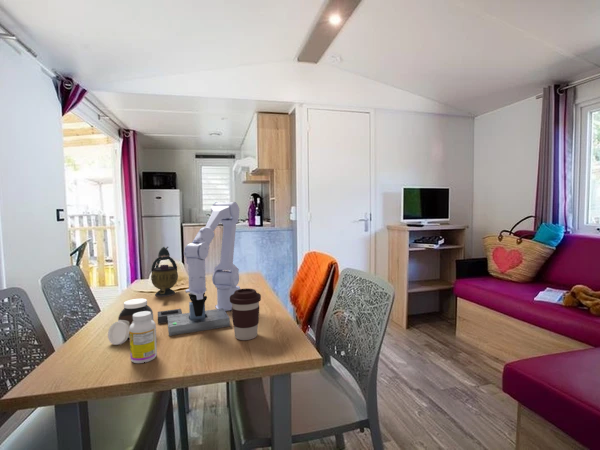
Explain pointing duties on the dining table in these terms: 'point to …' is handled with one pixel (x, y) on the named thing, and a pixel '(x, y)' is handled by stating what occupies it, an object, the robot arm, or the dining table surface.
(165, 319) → the holster
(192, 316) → the plug
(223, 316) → the panel
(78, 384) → the dining table surface
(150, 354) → the supplement bottle
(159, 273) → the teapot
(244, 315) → the coffee cup
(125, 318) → the spread jar
